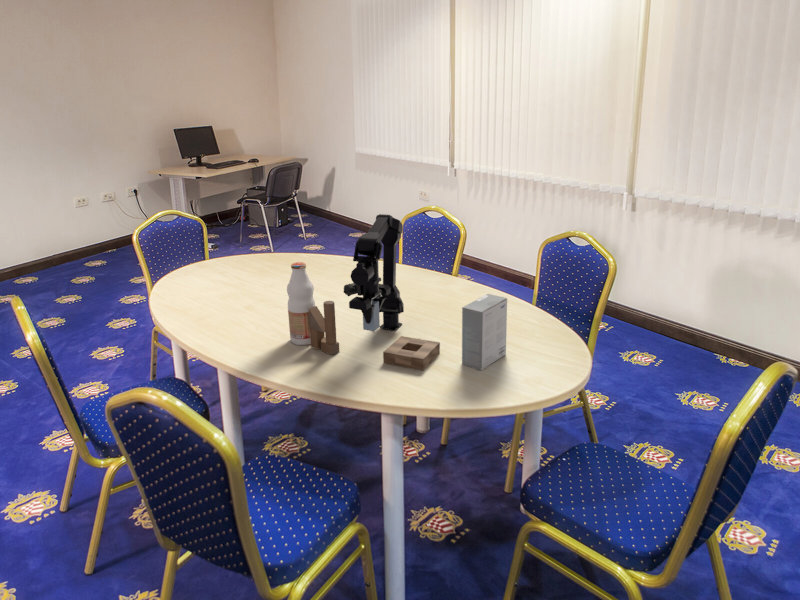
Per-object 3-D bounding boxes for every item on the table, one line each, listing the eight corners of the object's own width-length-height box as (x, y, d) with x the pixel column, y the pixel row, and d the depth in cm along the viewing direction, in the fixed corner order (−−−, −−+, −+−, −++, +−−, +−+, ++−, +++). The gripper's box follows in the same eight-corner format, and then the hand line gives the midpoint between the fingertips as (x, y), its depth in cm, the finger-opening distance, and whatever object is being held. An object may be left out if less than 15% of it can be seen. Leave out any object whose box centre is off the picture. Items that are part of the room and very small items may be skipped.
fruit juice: (291, 347, 217) (285, 269, 207) (289, 336, 225) (283, 261, 216) (319, 343, 219) (314, 266, 209) (315, 333, 227) (310, 259, 218)
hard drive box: (486, 348, 213) (488, 293, 206) (506, 354, 208) (509, 297, 201) (460, 364, 201) (461, 306, 195) (481, 371, 197) (482, 311, 190)
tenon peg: (368, 325, 211) (368, 300, 208) (379, 327, 209) (378, 301, 206) (363, 329, 207) (362, 303, 204) (374, 331, 206) (373, 305, 203)
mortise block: (401, 346, 215) (401, 335, 214) (439, 353, 210) (439, 342, 208) (383, 363, 203) (383, 351, 202) (423, 370, 198) (423, 359, 196)
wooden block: (318, 343, 219) (315, 295, 213) (339, 352, 212) (337, 302, 206) (310, 347, 216) (307, 297, 210) (331, 355, 209) (328, 305, 203)
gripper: (361, 265, 213) (362, 308, 218) (333, 281, 197) (335, 327, 202) (390, 268, 209) (391, 312, 214) (364, 285, 193) (366, 332, 198)
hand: (371, 321), depth 207 cm, fingers closed on tenon peg, 4 cm apart
